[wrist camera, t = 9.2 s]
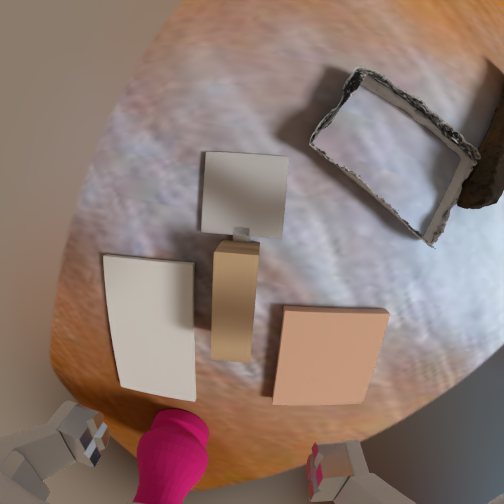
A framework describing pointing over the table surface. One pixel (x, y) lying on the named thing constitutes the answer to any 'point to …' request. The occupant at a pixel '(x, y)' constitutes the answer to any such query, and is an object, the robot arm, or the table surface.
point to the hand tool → (487, 168)
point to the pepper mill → (171, 457)
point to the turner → (240, 239)
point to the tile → (327, 354)
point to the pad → (152, 324)
